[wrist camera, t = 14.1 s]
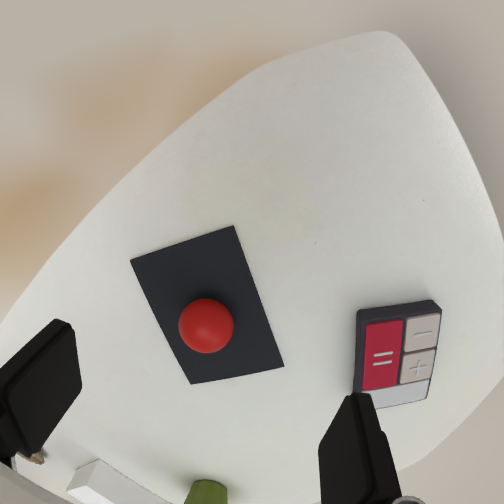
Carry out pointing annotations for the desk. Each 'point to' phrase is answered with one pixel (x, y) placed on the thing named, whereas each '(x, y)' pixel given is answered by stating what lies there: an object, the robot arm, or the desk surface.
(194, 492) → the plant pot
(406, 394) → the calculator
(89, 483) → the tissue box
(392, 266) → the desk surface
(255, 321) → the side mat
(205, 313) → the red ball
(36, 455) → the tan rough lump
